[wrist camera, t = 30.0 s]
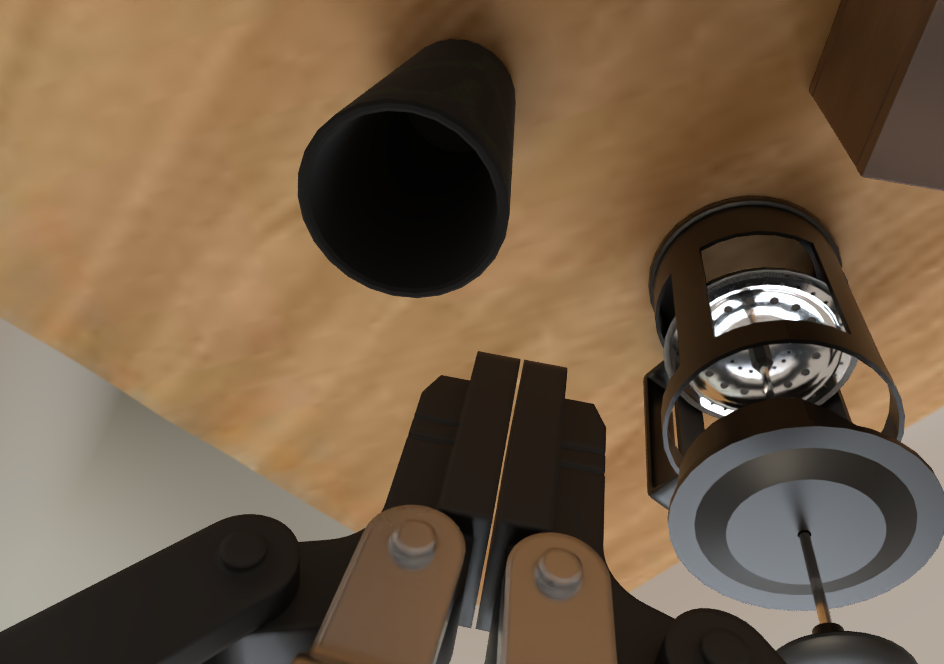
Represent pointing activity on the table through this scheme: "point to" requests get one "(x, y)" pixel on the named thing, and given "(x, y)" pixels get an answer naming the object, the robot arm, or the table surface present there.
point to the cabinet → (887, 88)
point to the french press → (780, 435)
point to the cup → (416, 174)
